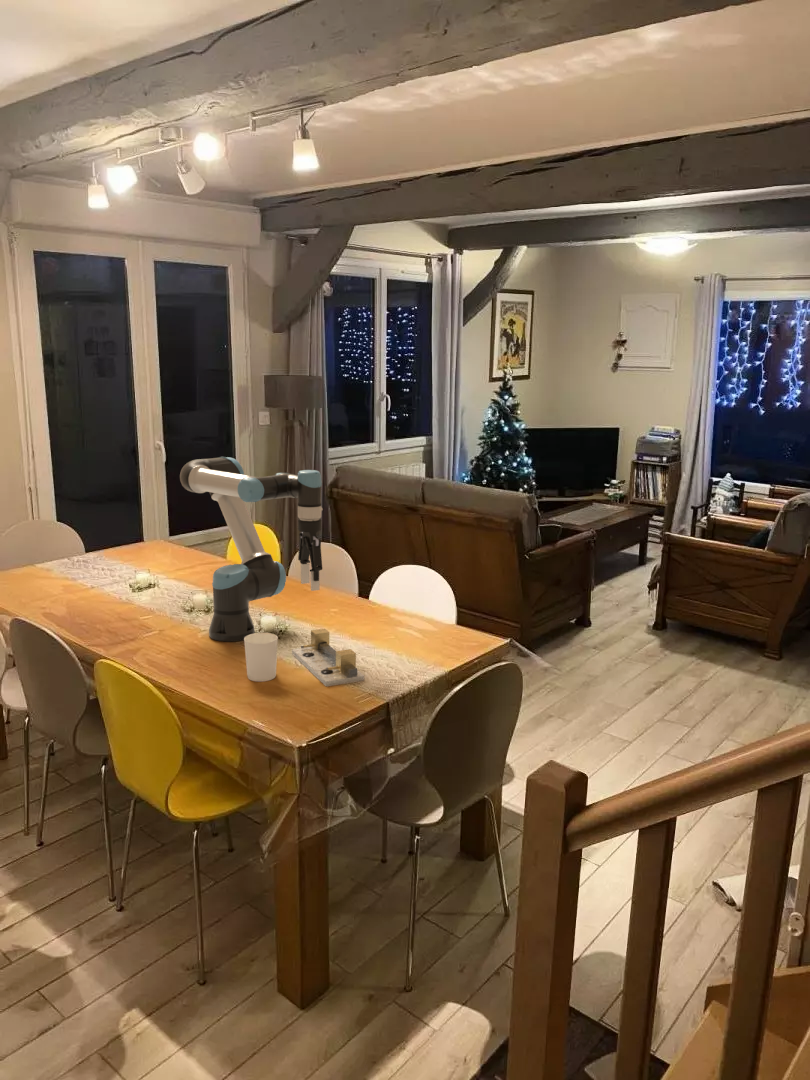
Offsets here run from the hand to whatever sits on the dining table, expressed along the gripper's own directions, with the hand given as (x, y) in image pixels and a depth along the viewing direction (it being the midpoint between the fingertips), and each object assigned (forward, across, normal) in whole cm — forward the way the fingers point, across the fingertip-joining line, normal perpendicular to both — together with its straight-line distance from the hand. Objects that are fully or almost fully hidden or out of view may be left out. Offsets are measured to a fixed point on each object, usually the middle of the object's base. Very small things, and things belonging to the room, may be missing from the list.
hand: (310, 586), depth 269 cm
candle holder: (+20, -22, +24) cm, 38 cm away
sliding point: (+18, -9, +2) cm, 20 cm away
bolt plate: (+19, -22, +4) cm, 30 cm away
